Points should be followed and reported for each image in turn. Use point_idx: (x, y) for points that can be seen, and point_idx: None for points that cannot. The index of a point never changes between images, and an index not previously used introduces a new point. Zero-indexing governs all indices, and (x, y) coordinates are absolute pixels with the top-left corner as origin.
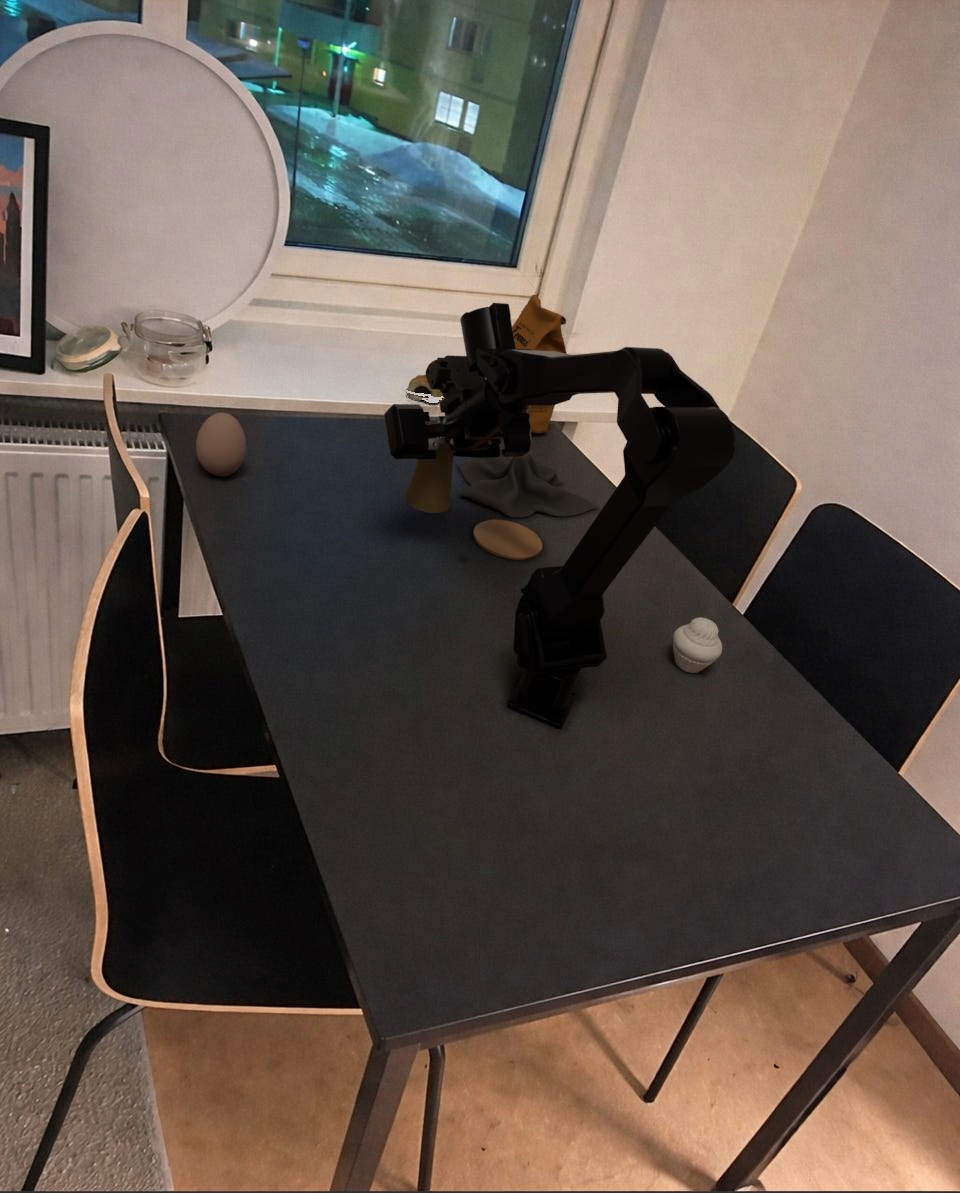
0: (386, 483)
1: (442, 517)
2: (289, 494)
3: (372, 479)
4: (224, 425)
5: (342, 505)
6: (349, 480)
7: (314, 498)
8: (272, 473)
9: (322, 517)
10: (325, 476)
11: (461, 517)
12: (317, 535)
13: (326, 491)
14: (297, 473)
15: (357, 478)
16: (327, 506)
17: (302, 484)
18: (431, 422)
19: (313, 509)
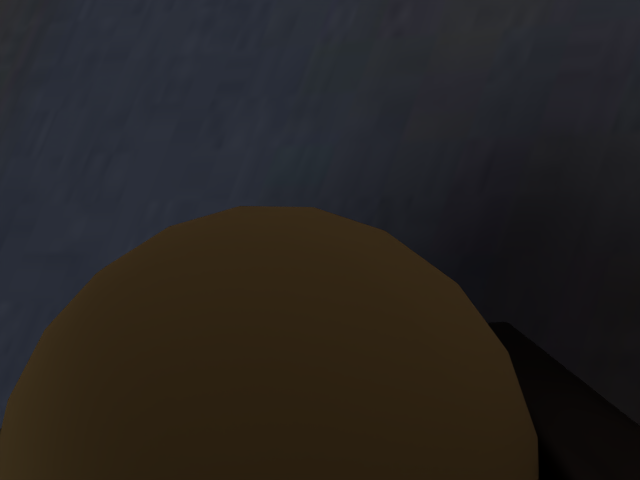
0: (376, 60)
1: (533, 296)
2: (24, 148)
3: (333, 39)
4: None
5: (163, 210)
6: (248, 52)
7: (89, 168)
8: (25, 33)
9: (67, 287)
10: (177, 35)
11: (625, 298)
12: (4, 404)
13: (145, 124)
14: (98, 26)
15: (281, 37)
16: (111, 217)
17: (87, 87)
18: (127, 287)
19: (59, 236)
